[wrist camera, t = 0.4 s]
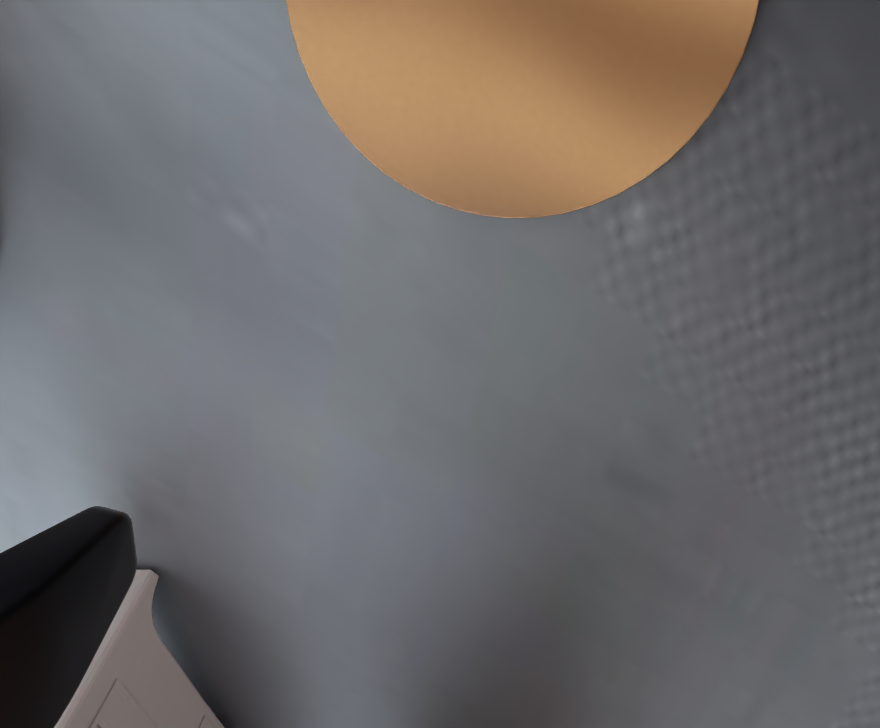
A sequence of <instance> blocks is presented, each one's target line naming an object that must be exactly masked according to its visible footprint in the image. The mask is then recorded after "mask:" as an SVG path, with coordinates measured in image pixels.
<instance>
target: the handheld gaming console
mask: <svg viewBox="0 0 880 728" xmlns="http://www.w3.org/2000/svg"><path fill="white" fill-rule="evenodd" d="M158 577H159V576H158V575H157V574H156V573H154V572H153V571H151V570H136V573H135V577H134V580H133V582H132V584H131V586H130V588H129V590H128V592H127V594H126V596H125V598H124V600H123V602H122V604H121V606H120V608H119V610H118V612H117V614H116V615H115V617H114V619H113V621H112V623H111V625H110V627H109V629H108V631H107V633H106V635H105V637H104V639H103V641H102V643H101V645H100V646H99V648H98V650H97V652H96V654H95V656H94V658H93V660H92V662H91V664H90V666H89V668H88V670H87V672H86V674H85V676H84V677H83V679H82V681H81V683H80V685H79V687H78V689H77V690H76V692H75V694H74V696H73V698H72V700H71V701H70V703H69V705H68V706H67V708H66V709H65V711H64V713H63V714H62V716H61V718H60V719H59V721H58V722H57V724H56V725H55V727H54V728H224V726H223V725H222V724H221V722H220V721H219V720H218V718H217V717H216V716H215V714H214V713H213V712H212V710H211V709H210V708H209V706H208V705H207V704H206V702H205V701H204V700H203V698H202V697H201V695H200V694H199V693H198V691H197V690H196V688H195V687H194V686H193V684H192V683H191V681H190V680H189V678H188V677H187V676H186V674H185V673H184V671H183V670H182V669H181V667H180V666H179V664H178V663H177V661H176V660H175V659H174V657H173V656H172V654H171V653H170V652H169V650H168V649H167V647H166V646H165V645H164V643H163V642H162V640H161V639H160V637H159V636H158V634H157V631H156V629H155V627H154V625H153V617H152V602H153V595H154V591H155V587H156V584H157V581H158Z"/></svg>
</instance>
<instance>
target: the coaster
mask: <svg viewBox="0 0 880 728" xmlns="http://www.w3.org/2000/svg"><path fill="white" fill-rule="evenodd" d="M286 2H287V8H288V13H289V19H290V24H291V28H292V32H293V35H294V38H295V42H296V45H297V48H298V52H299V55H300V58H301V60H302V62H303V65H304V67H305V70H306V72H307V74H308V77H309V79H310V81H311V84H312V86H313V87H314V89H315V91H316V93H317V94H318V96H319V98H320V100H321V102H322V103H323V105H324V107H325V109H326V110H327V112H328V113H329V114H330V116H331V117H332V119H333V120H334V121H335V123H336V124H337V126H338V127H339V128H340V130H341V131H342V133H343V134H344V135H345V136H346V137H347V138H348V139H349V140H350V141H351V143H352V144H353V145H354V146H355V147H356V148H357V149H358V150H359V151H360V152H361V154H363V155H364V156H365V157H366V158H367V159H368V160H369V161H371V162H372V163H373V164H374V165H375V166H376V167H377V168H379V169H380V170H381V171H382V172H383V173H385V174H386V175H388V176H389V177H391V178H392V179H394V180H395V181H397V182H398V183H400V184H401V185H402V186H404V187H405V188H407V189H409V190H411V191H413V192H415V193H417V194H419V195H421V196H423V197H425V198H427V199H429V200H431V201H434V202H436V203H439V204H442V205H444V206H447V207H450V208H453V209H455V210H460V211H464V212H468V213H473V214H477V215H481V216H491V217H500V218H537V217H544V216H551V215H557V214H564V213H567V212H571V211H574V210H578V209H581V208H585V207H588V206H591V205H594V204H596V203H599V202H601V201H603V200H606V199H608V198H610V197H613V196H615V195H617V194H619V193H621V192H623V191H624V190H626V189H628V188H630V187H631V186H633V185H635V184H636V183H638V182H640V181H642V180H643V179H645V178H646V177H647V176H649V175H650V174H651V173H653V172H654V171H655V170H657V169H658V168H659V167H660V166H662V165H663V164H664V163H666V162H667V161H668V160H669V159H670V158H671V157H672V156H673V155H674V154H675V153H677V152H678V151H679V150H680V149H681V148H682V147H683V146H684V145H685V144H686V143H687V142H688V141H689V140H690V139H691V138H692V136H693V135H694V134H695V133H696V132H697V130H698V129H699V128H700V127H701V125H702V124H703V123H704V122H705V120H706V119H707V118H708V117H709V116H710V114H711V113H712V111H713V110H714V108H715V107H716V105H717V103H718V102H719V100H720V99H721V97H722V95H723V94H724V92H725V91H726V89H727V87H728V86H729V84H730V82H731V80H732V78H733V76H734V73H735V71H736V69H737V67H738V65H739V63H740V61H741V59H742V56H743V54H744V52H745V49H746V46H747V43H748V40H749V37H750V34H751V31H752V28H753V25H754V22H755V18H756V13H757V8H758V3H759V0H286Z"/></svg>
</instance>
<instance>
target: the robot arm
mask: <svg viewBox="0 0 880 728" xmlns="http://www.w3.org/2000/svg"><path fill="white" fill-rule="evenodd" d="M136 568H137V558H136V550H135V543H134V535H133V527H132V521H131V519H130V517H129V516H128V514H126V513H124V512H120V511H117V510H113V509H109V508H105V507H101V506H94V507H91V508H88V509H86V510H84V511H82V512H80V513H78V514H76V515H74V516H72V517H70V518H68V519H66V520H64V521H62V522H60V523H58V524H57V525H55V526H53V527H51V528H49V529H47V530H45V531H43V532H41V533H39V534H37V535H35V536H33V537H31V538H29V539H27V540H25V541H23V542H21V543H19V544H18V545H16V546H14V547H12V548H10V549H8V550H6V551H4V552H2V553H0V728H54V727H55V725H56V724H57V722H58V721H59V719H60V718H61V716H62V714H63V713H64V711H65V709H66V708H67V706H68V705H69V703H70V701H71V700H72V698H73V696H74V694H75V692H76V690H77V689H78V687H79V685H80V683H81V681H82V679H83V677H84V676H85V674H86V672H87V670H88V668H89V666H90V664H91V662H92V660H93V658H94V656H95V654H96V652H97V650H98V648H99V646H100V645H101V643H102V641H103V639H104V637H105V635H106V633H107V631H108V629H109V627H110V625H111V623H112V621H113V619H114V617H115V615H116V614H117V612H118V610H119V608H120V606H121V604H122V602H123V600H124V598H125V596H126V594H127V592H128V590H129V588H130V586H131V584H132V582H133V580H134V577H135V573H136Z"/></svg>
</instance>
